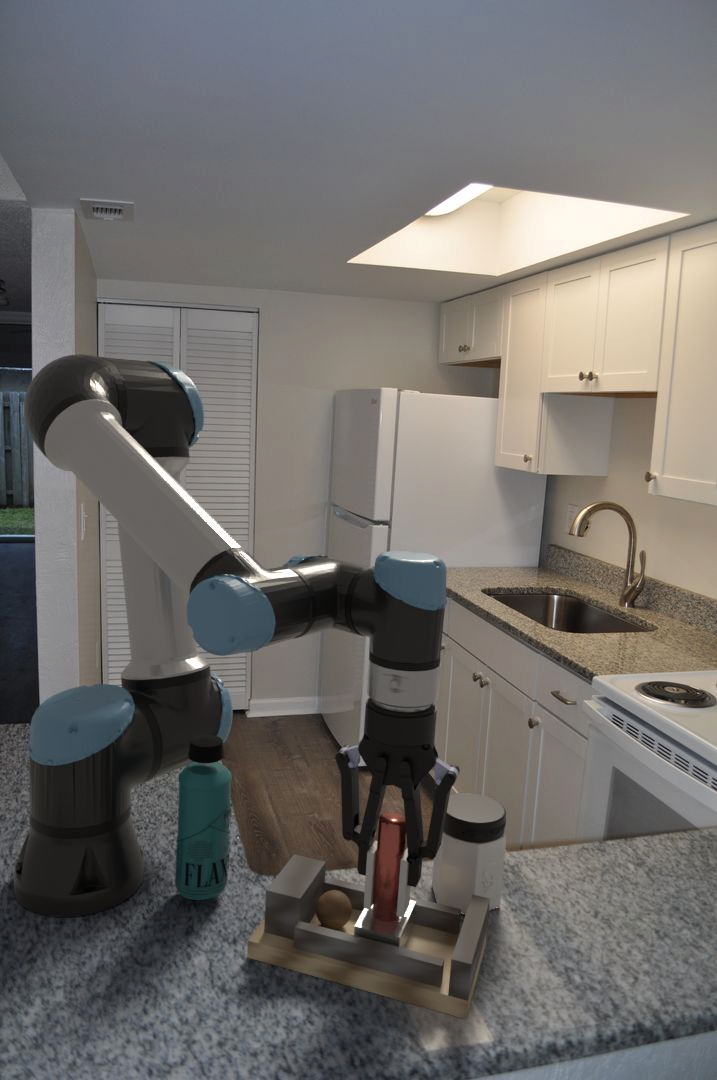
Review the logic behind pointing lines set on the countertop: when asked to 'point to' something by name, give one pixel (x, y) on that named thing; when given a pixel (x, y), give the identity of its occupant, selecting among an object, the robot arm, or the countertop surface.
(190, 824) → the beverage bottle
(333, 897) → the nut
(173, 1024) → the countertop surface
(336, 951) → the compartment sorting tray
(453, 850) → the jar
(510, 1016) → the countertop surface
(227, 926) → the countertop surface
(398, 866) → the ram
